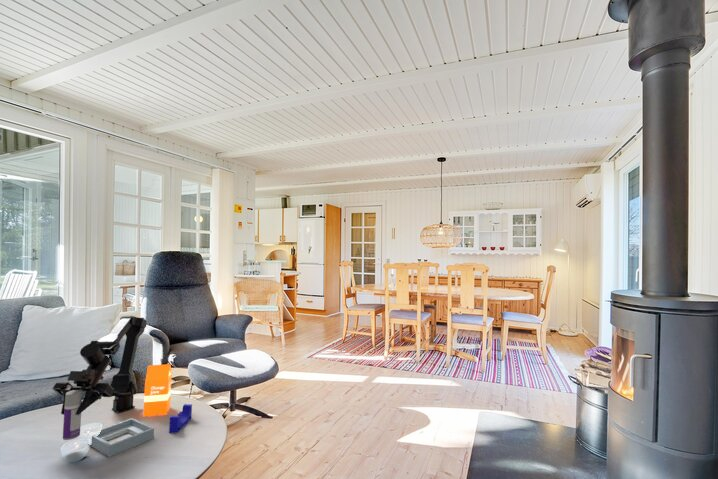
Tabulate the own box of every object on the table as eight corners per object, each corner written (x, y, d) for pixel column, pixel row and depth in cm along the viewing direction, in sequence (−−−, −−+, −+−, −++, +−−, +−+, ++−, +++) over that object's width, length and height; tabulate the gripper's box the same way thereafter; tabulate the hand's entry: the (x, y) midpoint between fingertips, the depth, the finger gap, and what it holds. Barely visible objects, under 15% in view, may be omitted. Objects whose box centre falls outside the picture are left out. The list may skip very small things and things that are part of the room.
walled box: (131, 427, 140) (132, 418, 140) (153, 437, 133) (154, 428, 133) (87, 444, 127) (87, 433, 127) (109, 456, 120) (109, 446, 120)
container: (59, 437, 122) (62, 393, 123) (75, 431, 126) (78, 388, 127) (66, 441, 120) (69, 395, 121) (82, 435, 124) (85, 391, 125)
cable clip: (180, 419, 149) (181, 404, 149) (191, 419, 149) (192, 404, 149) (165, 433, 137) (165, 417, 137) (177, 433, 137) (177, 417, 137)
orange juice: (147, 409, 156) (150, 362, 157) (170, 407, 159) (172, 361, 160) (142, 417, 149) (145, 368, 150) (166, 415, 152) (168, 366, 152)
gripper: (58, 359, 128) (27, 403, 117) (110, 360, 128) (84, 405, 117) (74, 374, 136) (47, 417, 124) (123, 375, 136) (101, 418, 124)
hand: (69, 414), depth 122 cm, fingers closed on container, 5 cm apart
